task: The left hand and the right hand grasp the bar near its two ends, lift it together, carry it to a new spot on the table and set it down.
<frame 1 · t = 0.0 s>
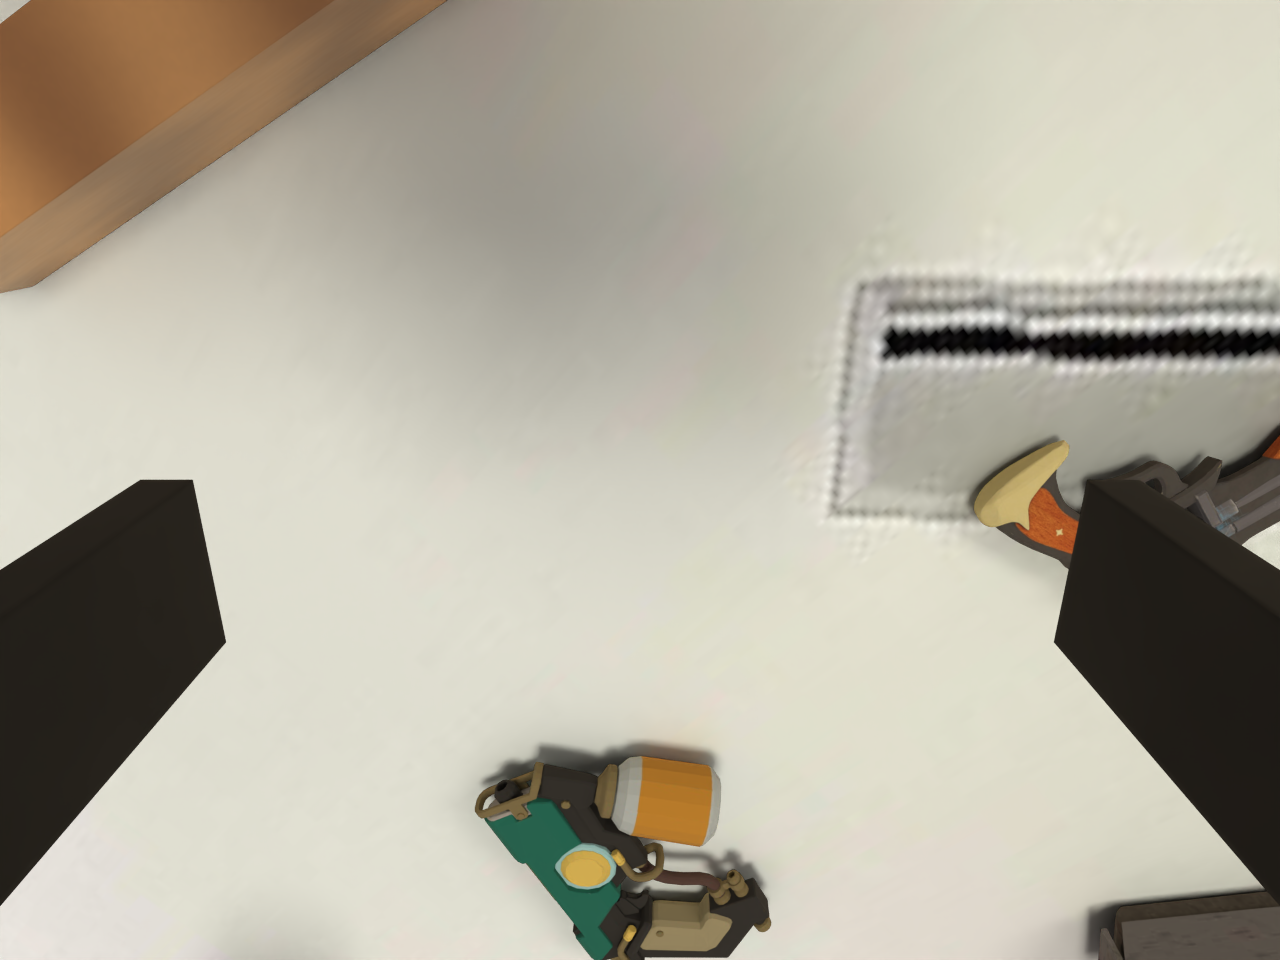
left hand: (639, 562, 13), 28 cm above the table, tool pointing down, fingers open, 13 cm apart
spray gun: (630, 843, 50), on the table
toy gun: (1173, 468, 42), on the table
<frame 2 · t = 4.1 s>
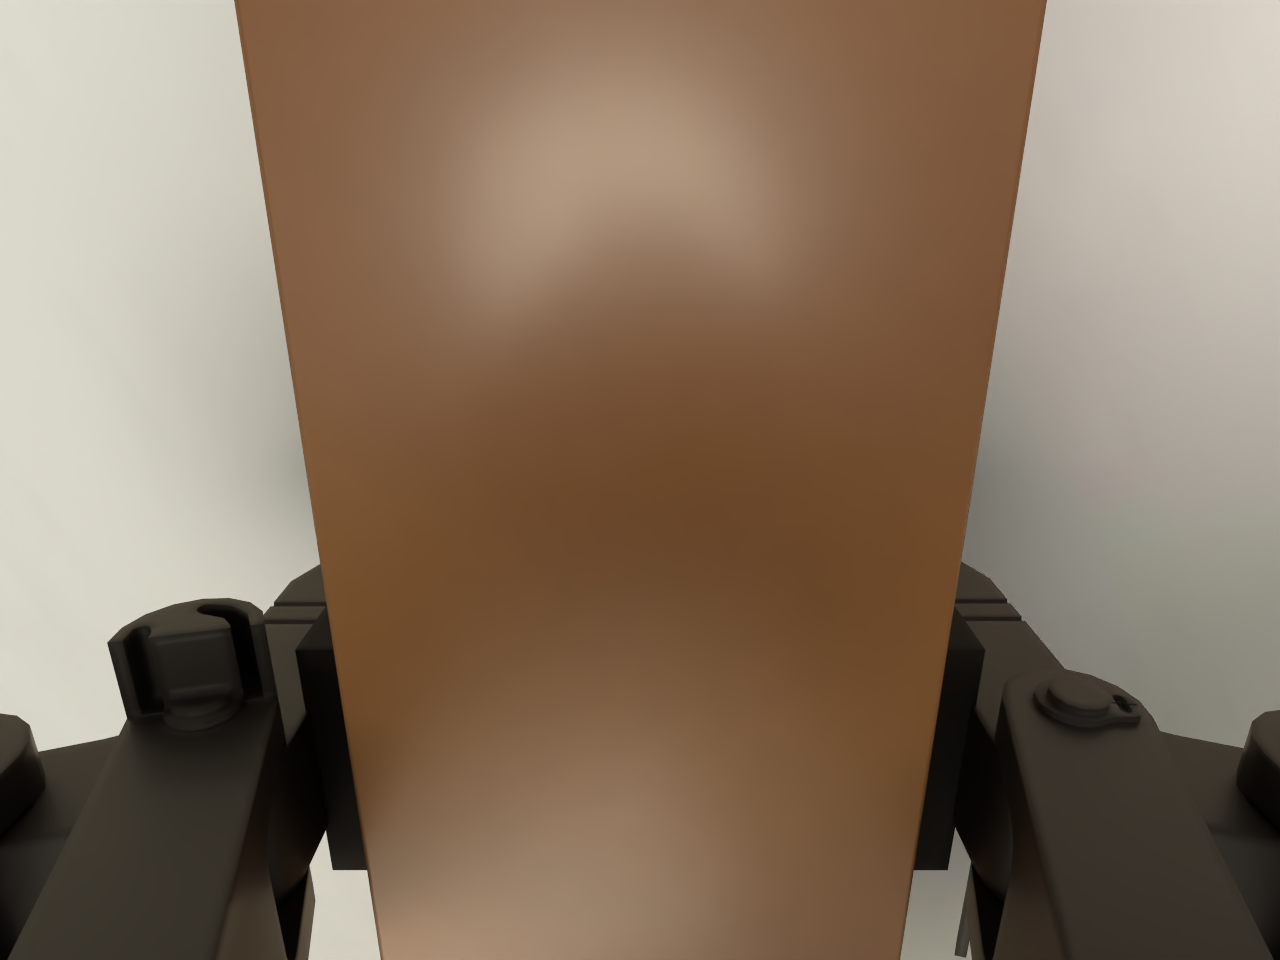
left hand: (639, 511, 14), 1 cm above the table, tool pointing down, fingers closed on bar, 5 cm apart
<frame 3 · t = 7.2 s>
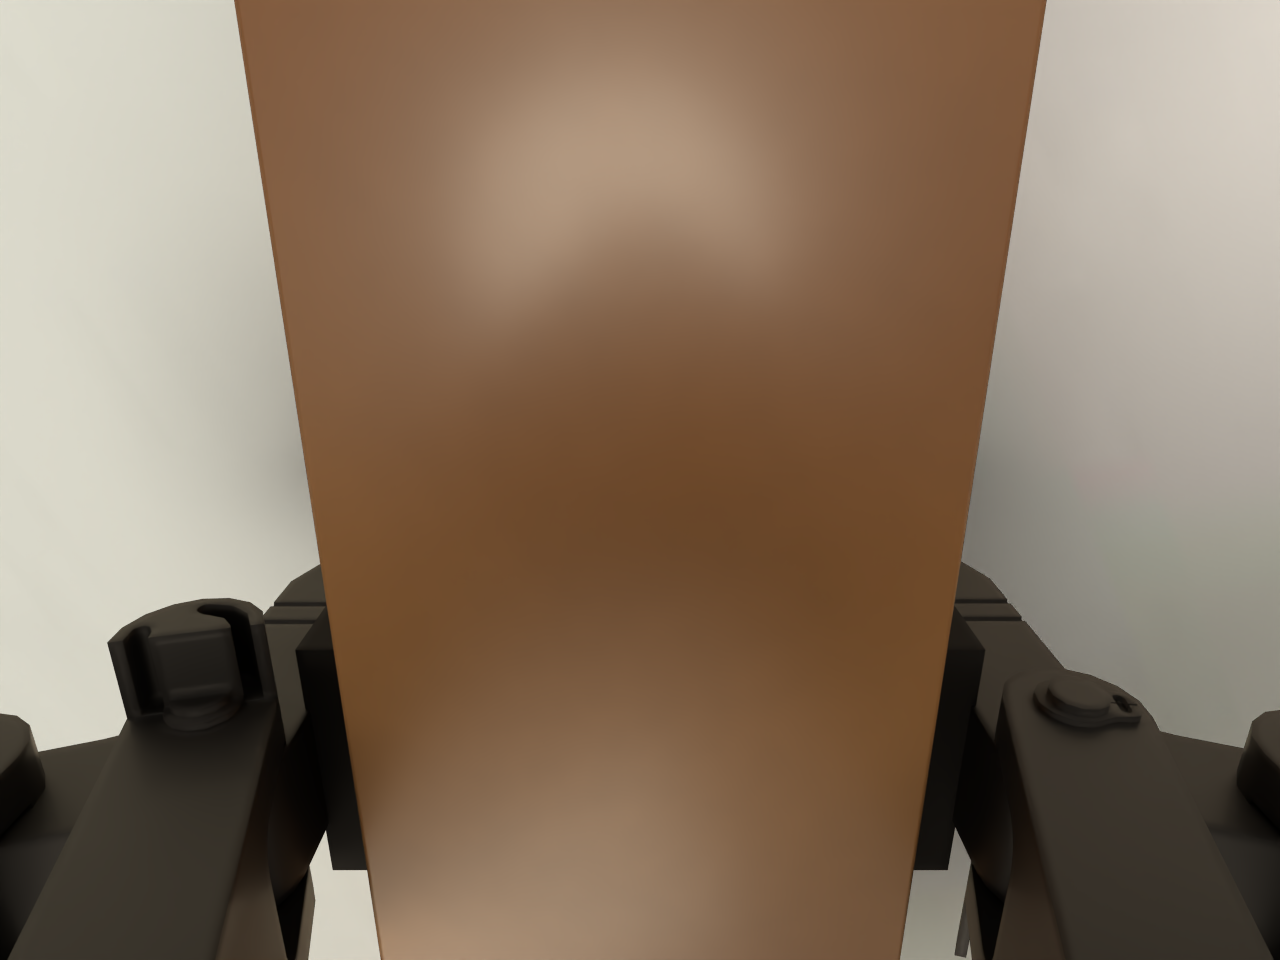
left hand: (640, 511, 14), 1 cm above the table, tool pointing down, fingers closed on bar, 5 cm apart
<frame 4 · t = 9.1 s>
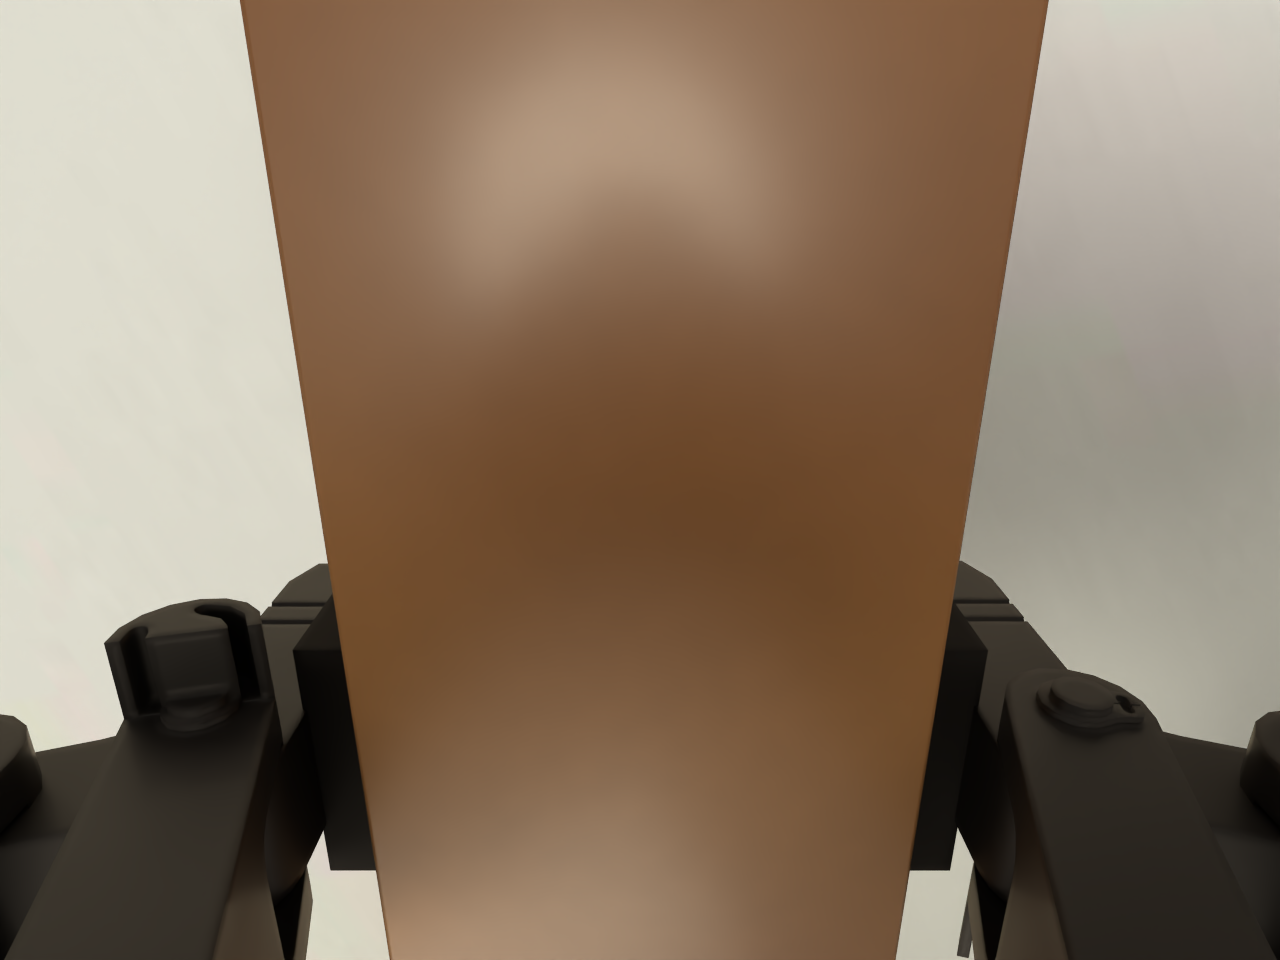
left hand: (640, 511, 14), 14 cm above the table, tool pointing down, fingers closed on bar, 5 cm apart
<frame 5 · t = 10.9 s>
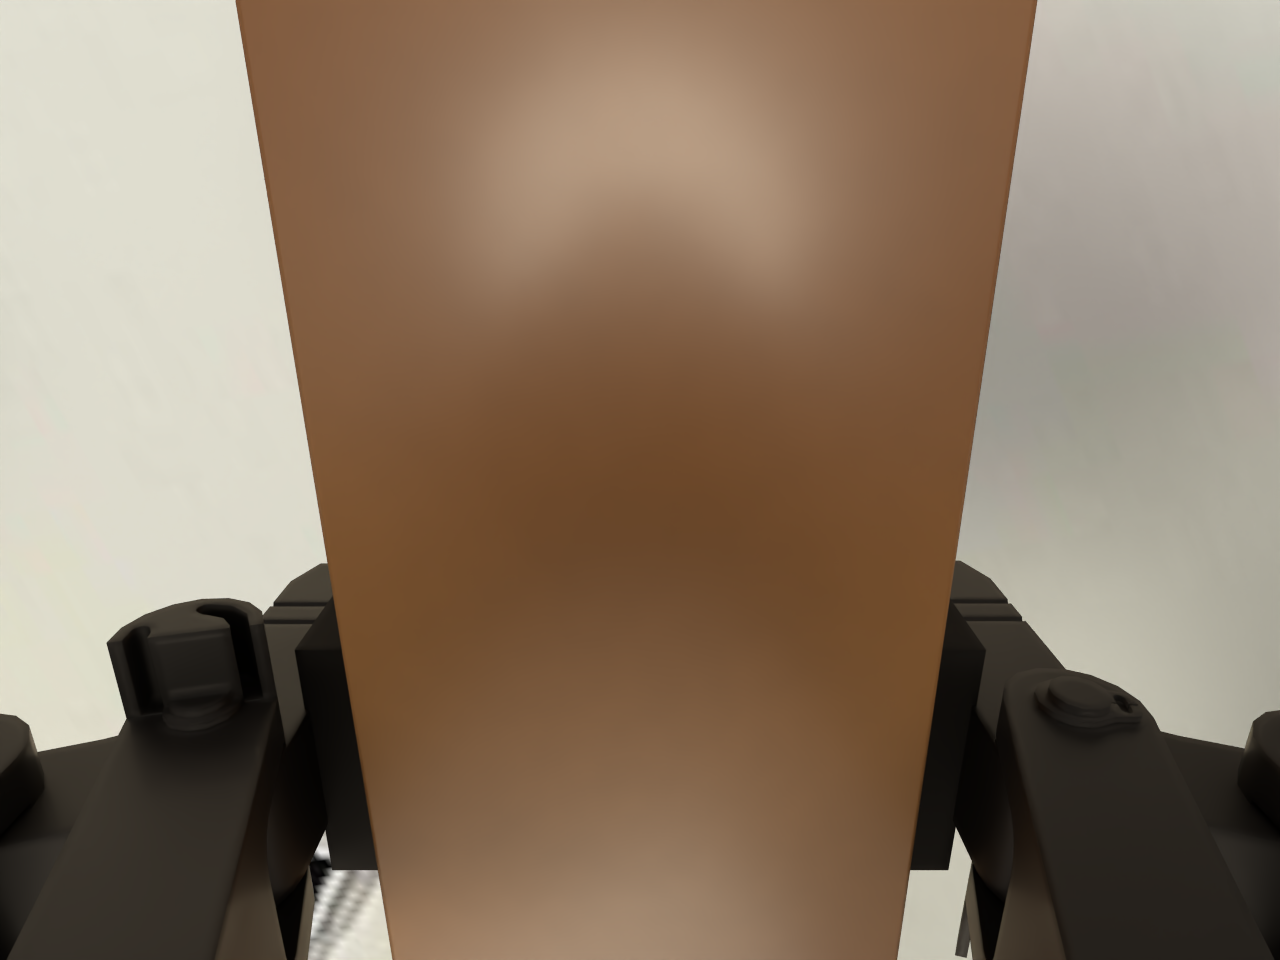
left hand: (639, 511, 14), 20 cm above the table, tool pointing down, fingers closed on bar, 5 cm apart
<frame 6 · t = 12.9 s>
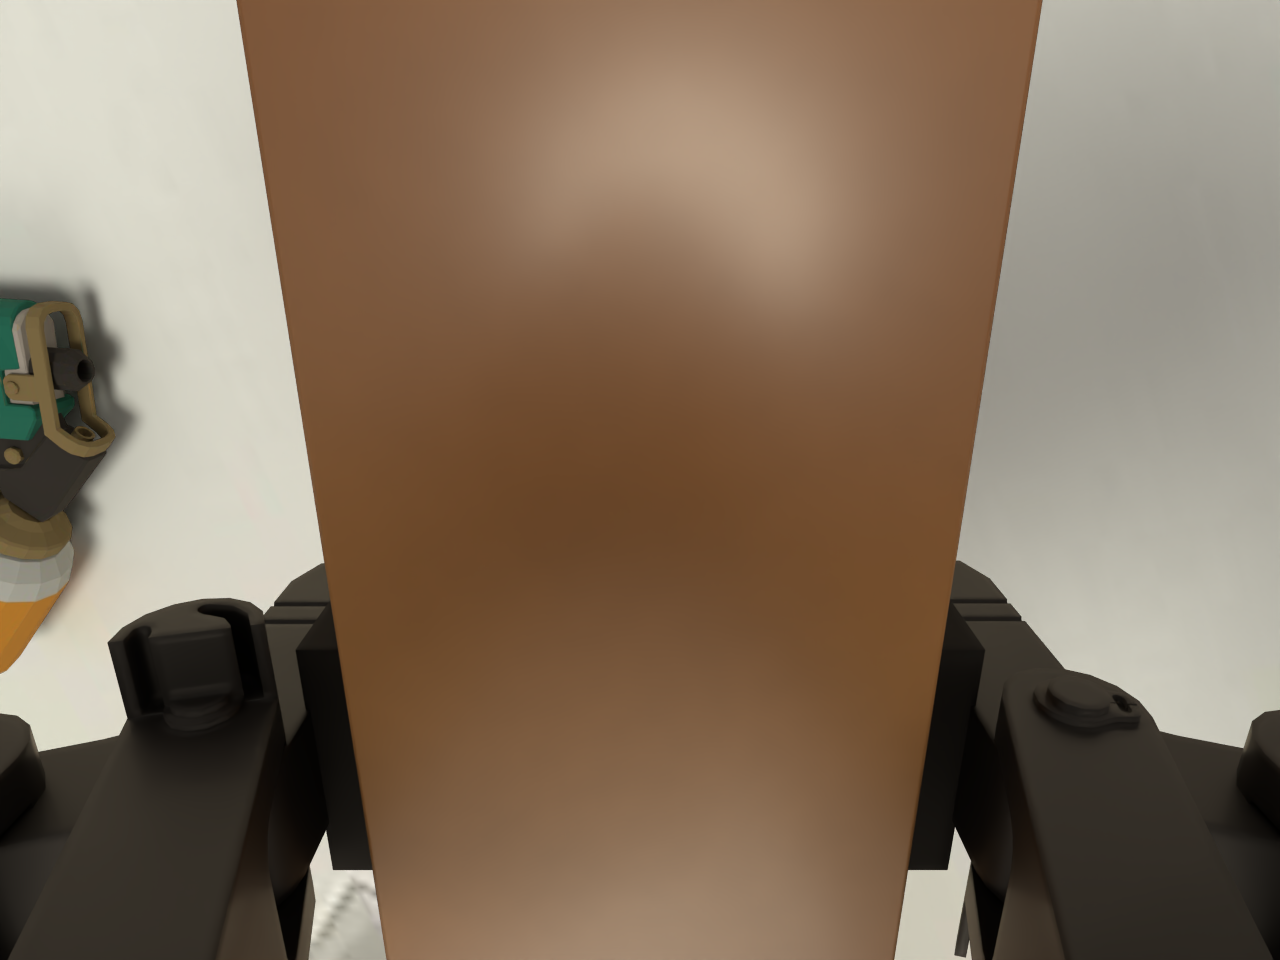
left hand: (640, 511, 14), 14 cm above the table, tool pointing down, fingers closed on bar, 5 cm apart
when the left hand's fingers open (1 cm above the table, at t = 14.4 s): bar stays where it is, on the table.
when the right hand's fingers open (4 cm above the table, at t = 14.6 s): bar stays where it is, on the table.
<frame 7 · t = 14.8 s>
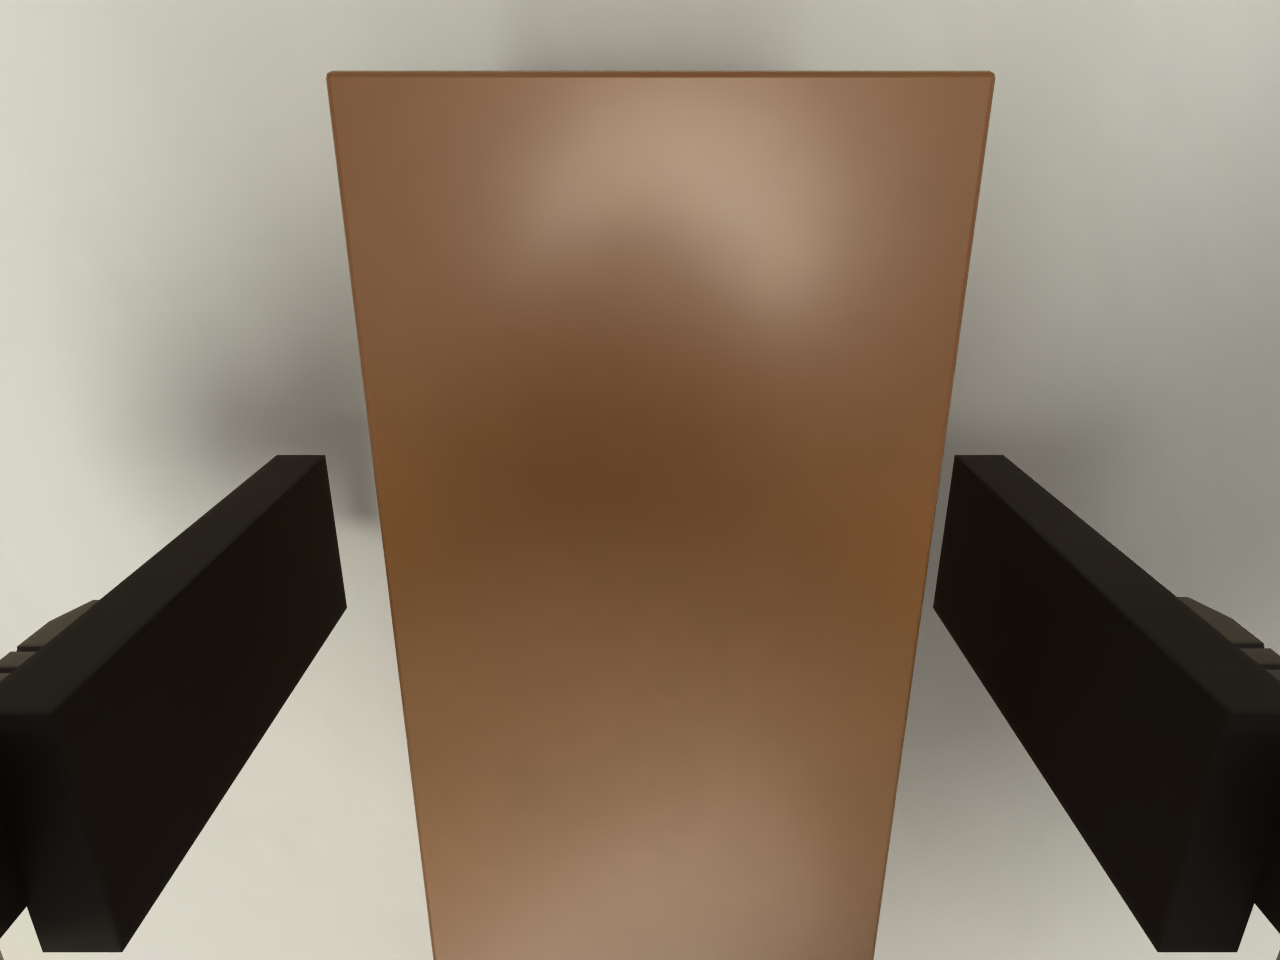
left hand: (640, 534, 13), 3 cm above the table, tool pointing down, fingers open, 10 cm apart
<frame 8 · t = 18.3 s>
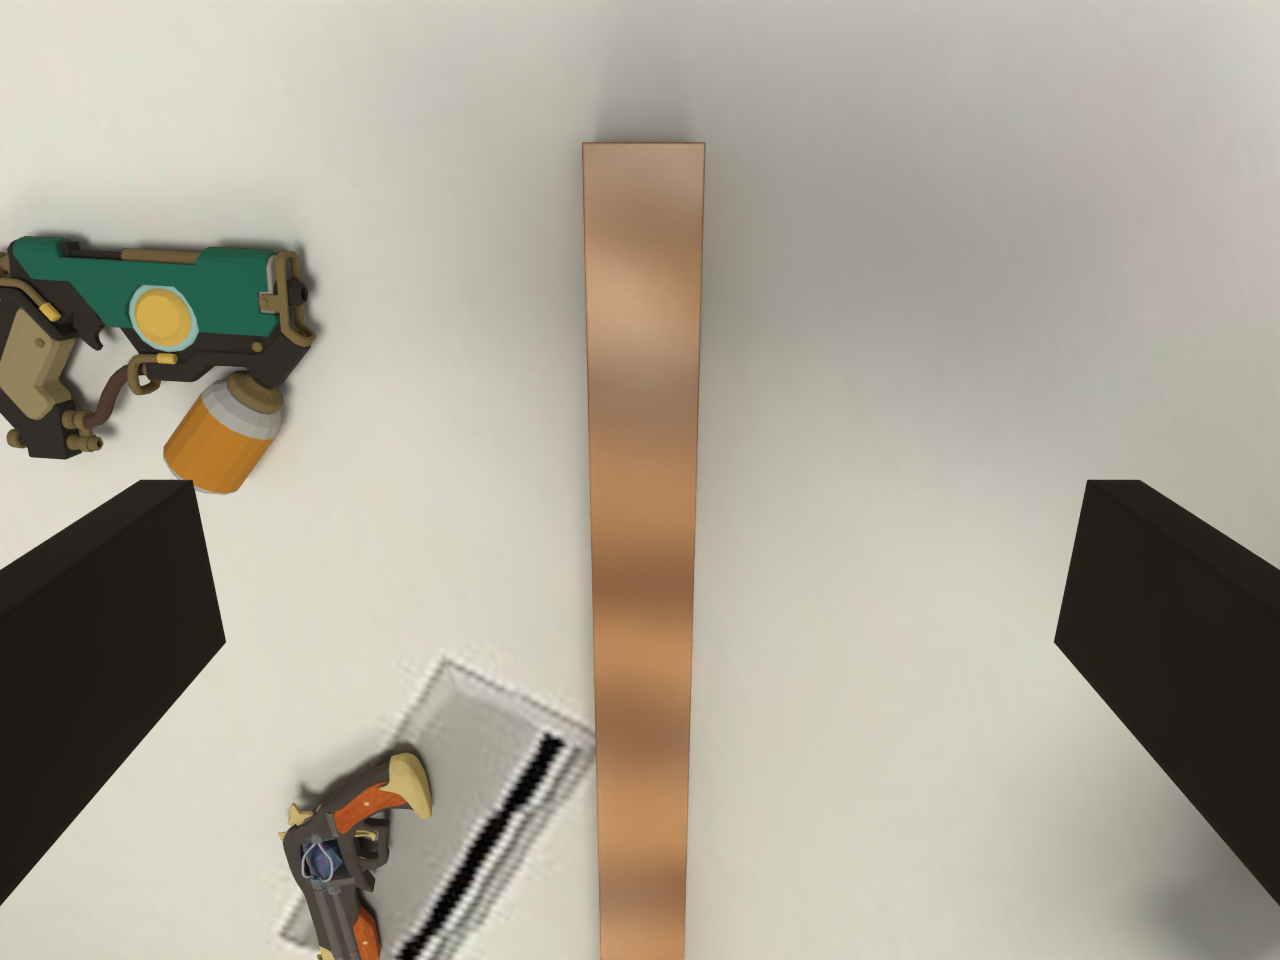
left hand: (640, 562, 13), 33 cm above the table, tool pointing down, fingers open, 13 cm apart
spray gun: (162, 344, 45), on the table
toy gun: (372, 856, 58), on the table
bar: (642, 789, 56), on the table
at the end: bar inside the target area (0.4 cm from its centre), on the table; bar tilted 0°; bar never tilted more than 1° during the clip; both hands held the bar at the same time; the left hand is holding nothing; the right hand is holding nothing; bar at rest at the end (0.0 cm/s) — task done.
